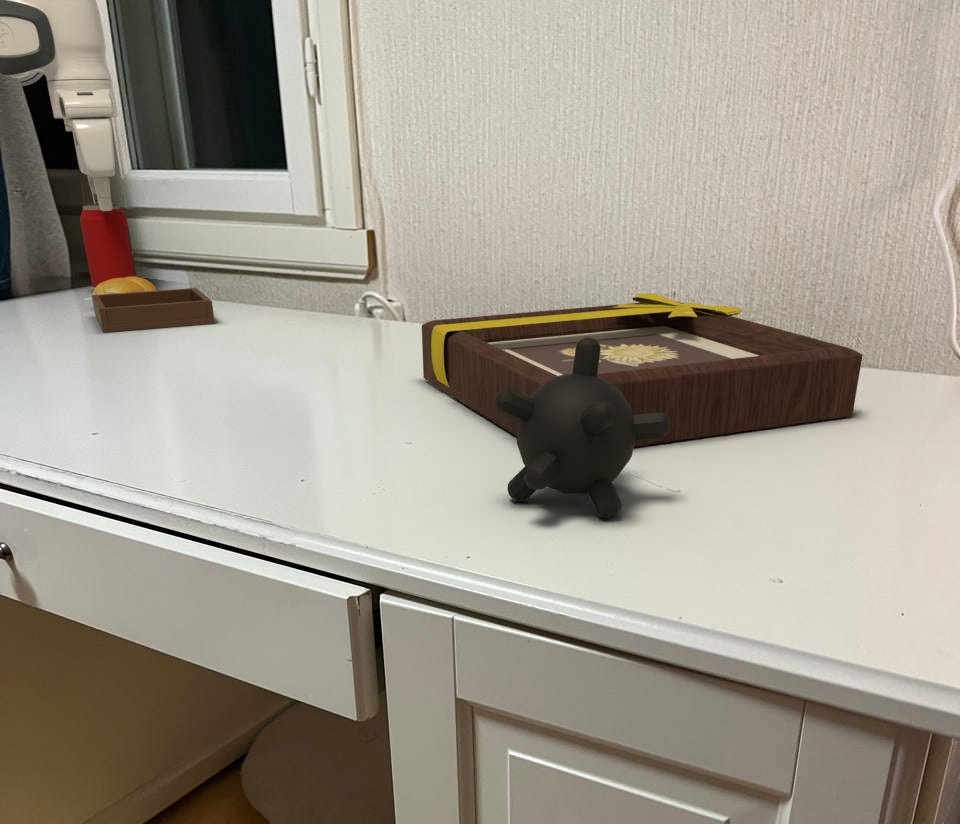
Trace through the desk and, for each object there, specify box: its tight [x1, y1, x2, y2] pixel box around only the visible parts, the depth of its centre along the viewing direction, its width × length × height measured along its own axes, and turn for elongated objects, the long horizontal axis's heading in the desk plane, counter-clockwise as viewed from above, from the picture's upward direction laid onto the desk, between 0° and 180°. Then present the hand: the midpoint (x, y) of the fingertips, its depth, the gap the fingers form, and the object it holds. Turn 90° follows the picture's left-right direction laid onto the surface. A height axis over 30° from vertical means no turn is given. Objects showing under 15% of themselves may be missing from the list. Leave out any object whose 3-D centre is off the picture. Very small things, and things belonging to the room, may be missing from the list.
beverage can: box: [79, 204, 137, 288], centre depth 151 cm, size 7×7×12 cm
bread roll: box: [91, 276, 158, 303], centre depth 138 cm, size 8×9×4 cm
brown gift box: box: [421, 293, 863, 448], centre depth 88 cm, size 28×7×30 cm
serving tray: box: [91, 287, 216, 333], centre depth 128 cm, size 14×13×3 cm
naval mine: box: [494, 338, 670, 519], centre depth 63 cm, size 11×11×12 cm
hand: (103, 208), depth 148 cm, fingers open, 8 cm apart
